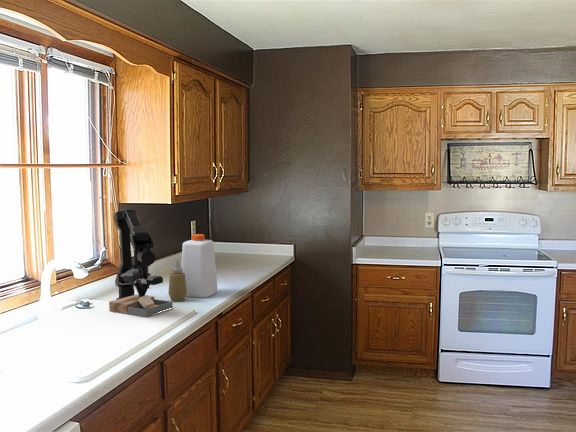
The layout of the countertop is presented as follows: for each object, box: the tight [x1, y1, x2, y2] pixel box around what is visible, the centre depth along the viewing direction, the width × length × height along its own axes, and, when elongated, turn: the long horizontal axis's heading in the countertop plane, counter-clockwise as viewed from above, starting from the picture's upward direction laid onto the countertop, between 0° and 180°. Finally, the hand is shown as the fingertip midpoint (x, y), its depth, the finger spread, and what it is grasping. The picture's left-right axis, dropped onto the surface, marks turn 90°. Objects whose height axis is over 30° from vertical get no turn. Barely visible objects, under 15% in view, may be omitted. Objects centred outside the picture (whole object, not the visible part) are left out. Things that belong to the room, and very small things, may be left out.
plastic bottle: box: [180, 233, 218, 299], centre depth 272 cm, size 15×15×28 cm
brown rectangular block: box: [108, 293, 155, 315], centre depth 246 cm, size 10×16×4 cm, turn 151°
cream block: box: [138, 294, 154, 308], centre depth 242 cm, size 4×4×2 cm
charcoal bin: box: [127, 298, 174, 318], centre depth 242 cm, size 10×16×3 cm, turn 151°
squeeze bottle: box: [168, 259, 187, 303], centre depth 261 cm, size 8×8×18 cm
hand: (141, 298), depth 244 cm, fingers closed
